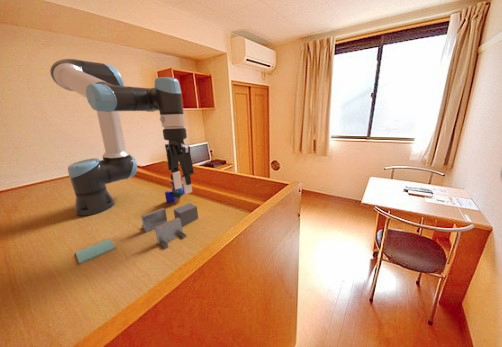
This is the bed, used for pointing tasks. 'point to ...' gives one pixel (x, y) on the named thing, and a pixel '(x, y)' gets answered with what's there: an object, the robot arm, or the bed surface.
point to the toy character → (176, 190)
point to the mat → (94, 251)
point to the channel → (162, 226)
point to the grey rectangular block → (186, 213)
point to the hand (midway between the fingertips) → (183, 190)
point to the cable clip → (171, 196)
